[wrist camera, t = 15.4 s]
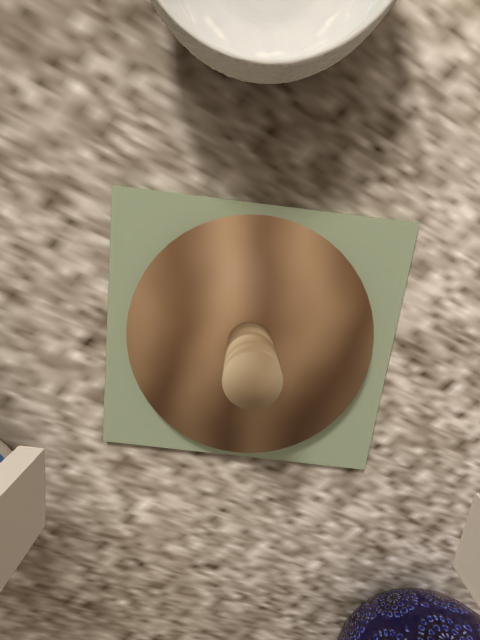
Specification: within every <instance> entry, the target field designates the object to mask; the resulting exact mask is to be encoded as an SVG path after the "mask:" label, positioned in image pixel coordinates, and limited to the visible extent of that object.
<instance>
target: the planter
mask: <svg viewBox="0 0 480 640" xmlns="http://www.w3.org/2000/svg"><path fill="white" fill-rule="evenodd" d="M338 640H480V615H479V614H477V613H476V612H474V611H473V610H471V609H470V608H468V607H467V606H465V605H464V604H462V603H461V602H459V601H457V600H455V599H453V598H451V597H449V596H447V595H445V594H442V593H439V592H436V591H432V590H427V589H422V588H398V589H393V590H389V591H385V592H382V593H380V594H377V595H375V596H373V597H372V598H370V599H368V600H367V601H365V602H364V603H363V604H361V605H360V606H359V607H358V608H357V609H356V610H355V611H354V612H353V614H352V615H351V616H350V617H349V618H348V620H347V621H346V623H345V625H344V627H343V629H342V631H341V633H340V636H339V638H338Z"/></svg>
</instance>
